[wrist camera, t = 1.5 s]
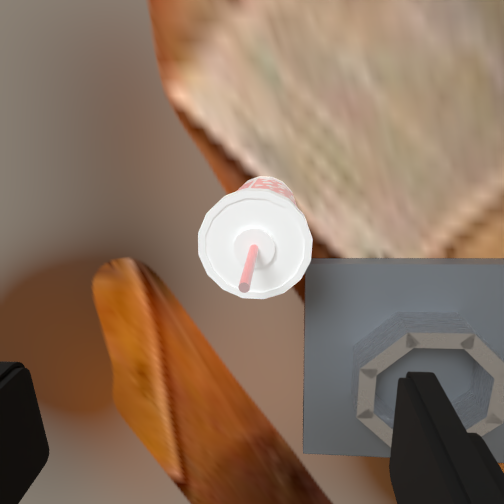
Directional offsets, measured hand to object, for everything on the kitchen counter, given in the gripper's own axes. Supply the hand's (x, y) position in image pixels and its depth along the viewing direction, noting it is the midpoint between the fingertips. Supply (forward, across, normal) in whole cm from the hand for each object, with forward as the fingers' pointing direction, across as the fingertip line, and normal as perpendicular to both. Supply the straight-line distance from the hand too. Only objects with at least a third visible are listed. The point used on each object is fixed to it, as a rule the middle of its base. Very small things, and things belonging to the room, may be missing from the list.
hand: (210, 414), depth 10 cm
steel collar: (+20, -12, +13) cm, 26 cm away
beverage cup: (+21, 0, 0) cm, 21 cm away
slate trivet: (+21, -12, +12) cm, 27 cm away
